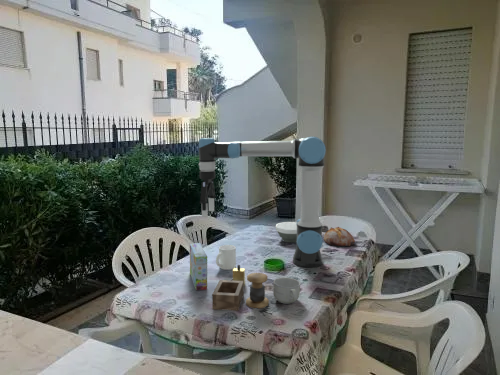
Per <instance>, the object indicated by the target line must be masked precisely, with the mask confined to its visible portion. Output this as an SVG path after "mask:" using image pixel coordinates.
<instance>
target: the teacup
mask: <svg viewBox="0 0 500 375" xmlns="http://www.w3.org/2000/svg"><path fill="white" fill-rule="evenodd" d="M272 283H273V288H272V289H273V290H272V291H273V294H272V295H273V297H274V299H276V300H277V301H278V303H281V304H285V305H290V304H293V303H294V302H296V301H298V300H299V298H300V294H301V293H300V292H301V285H302V284H301V281H300V280H298V279H295V278H291V277H284V276H283V277H277V278H274V279H273V282H272Z"/></svg>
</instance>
